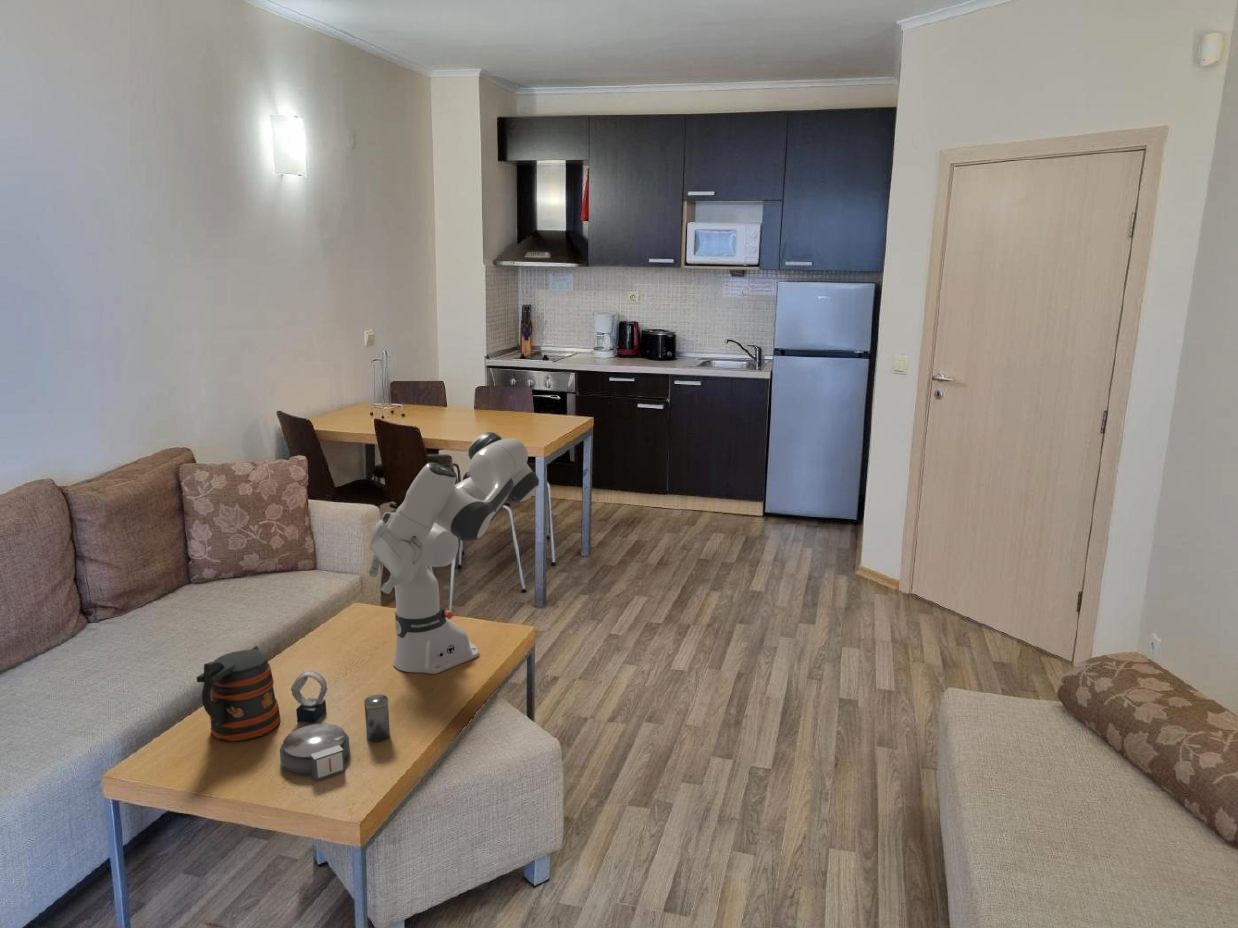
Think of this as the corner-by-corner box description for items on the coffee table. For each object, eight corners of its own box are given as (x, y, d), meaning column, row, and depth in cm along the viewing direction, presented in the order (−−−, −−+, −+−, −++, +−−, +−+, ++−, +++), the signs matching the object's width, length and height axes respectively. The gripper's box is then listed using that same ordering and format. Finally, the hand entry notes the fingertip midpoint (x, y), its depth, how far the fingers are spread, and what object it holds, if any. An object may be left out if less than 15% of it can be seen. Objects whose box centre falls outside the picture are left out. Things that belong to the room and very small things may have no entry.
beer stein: (245, 756, 188) (236, 670, 183) (184, 749, 190) (174, 665, 186) (292, 713, 206) (286, 634, 202) (236, 707, 209) (228, 629, 204)
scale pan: (333, 721, 196) (333, 717, 195) (354, 745, 186) (354, 741, 186) (275, 738, 188) (275, 735, 188) (294, 764, 178) (293, 761, 178)
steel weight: (384, 728, 199) (382, 692, 197) (393, 737, 196) (391, 701, 194) (363, 735, 196) (360, 698, 194) (371, 745, 192) (369, 707, 191)
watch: (301, 709, 208) (298, 666, 206) (333, 712, 207) (330, 669, 204) (289, 720, 203) (285, 677, 200) (321, 723, 201) (318, 679, 199)
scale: (336, 733, 197) (335, 713, 196) (364, 765, 185) (362, 744, 183) (272, 753, 189) (270, 732, 188) (296, 788, 176) (294, 766, 175)
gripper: (436, 551, 190) (405, 606, 190) (404, 520, 207) (375, 571, 206) (412, 541, 187) (380, 597, 186) (381, 510, 203) (352, 562, 203)
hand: (377, 583), depth 196 cm, fingers open, 8 cm apart
